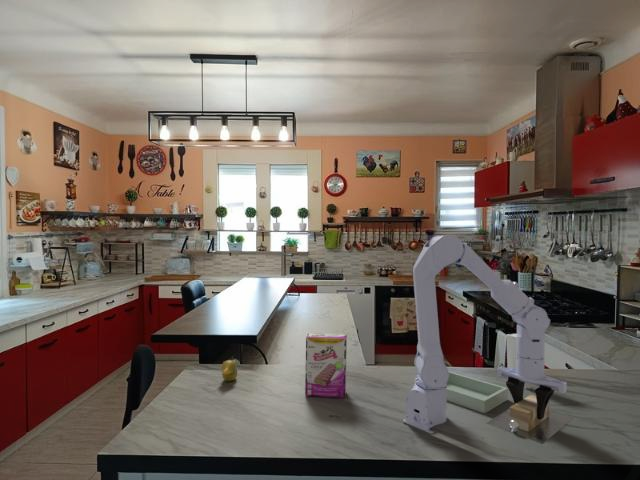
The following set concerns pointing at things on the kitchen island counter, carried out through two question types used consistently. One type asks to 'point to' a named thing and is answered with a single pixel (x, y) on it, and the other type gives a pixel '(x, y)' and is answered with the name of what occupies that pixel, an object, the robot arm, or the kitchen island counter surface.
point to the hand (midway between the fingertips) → (529, 414)
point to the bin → (474, 393)
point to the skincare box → (512, 357)
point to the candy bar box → (326, 365)
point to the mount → (538, 432)
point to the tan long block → (527, 413)
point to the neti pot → (229, 370)
